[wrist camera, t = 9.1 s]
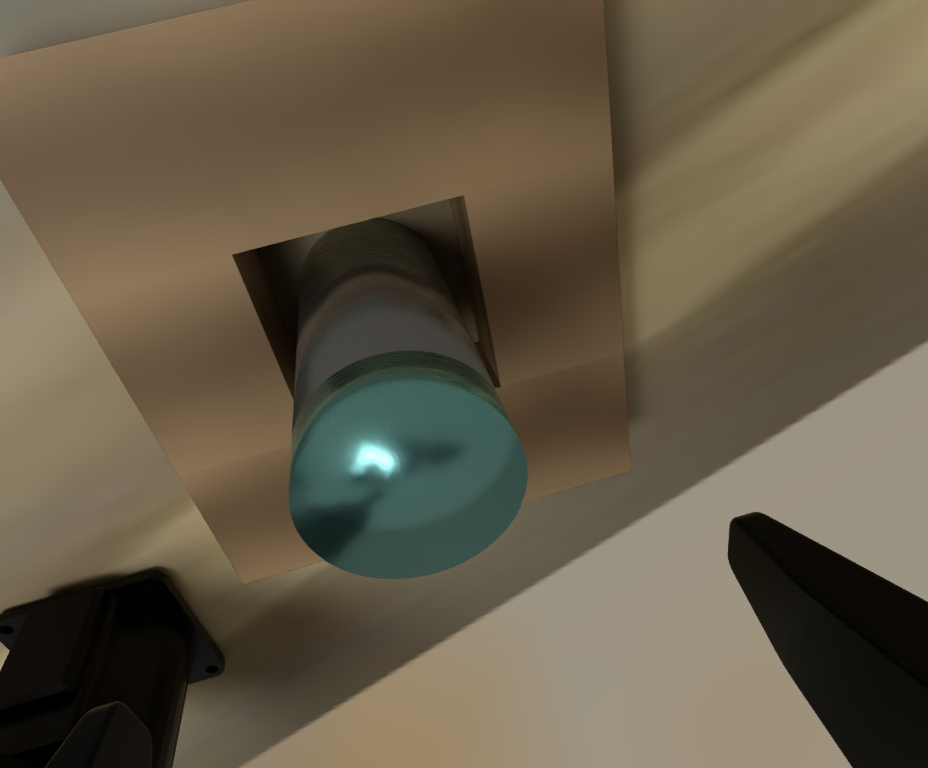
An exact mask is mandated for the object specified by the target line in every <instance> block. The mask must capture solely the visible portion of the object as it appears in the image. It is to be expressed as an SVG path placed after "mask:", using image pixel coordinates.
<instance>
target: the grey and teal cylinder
mask: <svg viewBox="0 0 928 768" xmlns="http://www.w3.org/2000/svg"><path fill="white" fill-rule="evenodd" d="M527 479H528V468H527V460H526V456H525V453H524V450H523V447H522V445H521V443H520V441H519V439H518V437H517V434H516V432H515V430H514V428H513V426H512V424H511V422H510V419H509V417H508V415H507V413H506V411H505V409H504V407H503V404H502V402H501V400H500V398H499V396H498V394H497V392H496V389H495V387H494V385H493V383H492V381H491V379H490V376H489V374H488V372H487V370H486V368H485V366H484V364H483V361H482V359H481V357H480V355H479V353H478V351H477V349H476V346H475V344H474V342H473V340H472V338H471V336H470V334H469V331H468V329H467V327H466V325H465V323H464V321H463V318H462V316H461V314H460V312H459V310H458V308H457V306H456V303H455V301H454V299H453V297H452V295H451V293H450V291H449V288H448V286H447V284H446V282H445V280H444V278H443V276H442V273H441V271H440V269H439V267H438V265H437V263H436V260H435V258H434V256H433V254H432V252H431V251H430V249H429V248H428V246H427V245H426V244H425V243H424V241H423V240H422V239H421V238H420V237H419V236H417V235H416V234H415V233H414V232H412V231H411V230H409V229H408V228H406V227H404V226H402V225H400V224H398V223H395V222H392V221H388V220H383V219H374V218H373V219H369V220H365V221H361V222H357V223H353V224H349V225H346V226H342V227H338V228H334V229H331V230H330V231H328V232H327V233H326V234H324V235H323V236H322V237H321V238H320V239H319V240H318V241H317V242H316V243H315V244H314V246H313V247H312V249H311V250H310V252H309V253H308V255H307V257H306V259H305V262H304V265H303V268H302V273H301V280H300V298H299V316H298V334H297V352H296V369H295V387H294V405H293V423H292V441H291V458H290V476H289V509H290V514H291V518H292V521H293V523H294V526H295V528H296V530H297V532H298V533H299V535H300V537H301V538H302V540H303V541H304V542H305V543H306V544H307V545H308V547H309V548H310V549H311V550H312V551H314V552H315V553H316V554H317V555H318V556H319V557H321V558H322V559H324V560H325V561H327V562H329V563H330V564H332V565H334V566H336V567H338V568H340V569H343V570H346V571H348V572H351V573H354V574H358V575H363V576H367V577H374V578H385V579H400V578H412V577H419V576H425V575H429V574H433V573H437V572H440V571H443V570H446V569H449V568H452V567H454V566H456V565H458V564H460V563H463V562H465V561H466V560H468V559H470V558H472V557H474V556H475V555H477V554H478V553H480V552H481V551H483V550H484V549H485V548H487V547H488V546H489V545H490V544H492V543H493V542H494V541H495V540H496V539H497V538H498V537H499V536H500V535H501V534H502V533H503V532H504V531H505V530H506V529H507V527H508V526H509V525H510V523H511V522H512V521H513V519H514V518H515V516H516V514H517V512H518V510H519V509H520V506H521V504H522V501H523V499H524V496H525V492H526V487H527Z"/></svg>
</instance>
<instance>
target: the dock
mask: <svg viewBox="0 0 928 768" xmlns="http://www.w3.org/2000/svg"><path fill="white" fill-rule="evenodd" d="M0 180H1V181H2V183H3V185H4V186H5V188H6V190H7V191H8V193H9V195H10V196H11V198H12V200H13V201H14V203H15V205H16V206H17V208H18V210H19V211H20V213H21V215H22V216H23V218H24V220H25V221H26V223H27V225H28V226H29V228H30V230H31V231H32V233H33V235H34V236H35V238H36V240H37V241H38V243H39V245H40V246H41V248H42V250H43V251H44V253H45V255H46V256H47V258H48V260H49V261H50V263H51V264H52V266H53V268H54V269H55V271H56V273H57V274H58V276H59V278H60V279H61V281H62V283H63V284H64V286H65V288H66V289H67V291H68V293H69V294H70V296H71V298H72V299H73V301H74V303H75V304H76V306H77V308H78V309H79V311H80V313H81V314H82V316H83V318H84V319H85V321H86V323H87V324H88V326H89V328H90V329H91V331H92V333H93V334H94V336H95V338H96V339H97V341H98V343H99V344H100V346H101V348H102V349H103V351H104V353H105V354H106V356H107V358H108V359H109V361H110V363H111V364H112V366H113V368H114V369H115V371H116V373H117V374H118V376H119V378H120V379H121V381H122V383H123V384H124V386H125V388H126V389H127V391H128V393H129V394H130V396H131V398H132V399H133V401H134V403H135V404H136V406H137V408H138V409H139V411H140V413H141V414H142V416H143V418H144V419H145V421H146V423H147V424H148V426H149V428H150V429H151V431H152V433H153V434H154V436H155V438H156V439H157V441H158V443H159V444H160V446H161V448H162V449H163V451H164V453H165V454H166V456H167V458H168V459H169V461H170V463H171V464H172V466H173V468H174V469H175V471H176V473H177V474H178V476H179V478H180V479H181V481H182V483H183V484H184V486H185V488H186V489H187V491H188V493H189V494H190V496H191V498H192V499H193V501H194V503H195V504H196V506H197V508H198V509H199V511H200V513H201V514H202V516H203V518H204V519H205V521H206V523H207V524H208V526H209V528H210V529H211V531H212V533H213V534H214V536H215V538H216V539H217V541H218V543H219V544H220V546H221V548H222V549H223V551H224V553H225V554H226V556H227V558H228V559H229V561H230V563H231V564H232V566H233V568H234V569H235V571H236V573H237V574H238V576H239V578H240V579H241V581H242V583H243V584H245V583H249V582H252V581H256V580H259V579H263V578H266V577H269V576H273V575H276V574H280V573H283V572H287V571H290V570H293V569H297V568H300V567H304V566H307V565H311V564H314V563H317V562H321V561H324V559H322V558H321V557H319V556H318V555H317V554H316V553H315V552H314V551H312V550H311V549H310V548H309V547H308V545H307V544H306V543H305V542H304V541H303V540H302V538H301V537H300V535H299V533H298V532H297V530H296V528H295V526H294V523H293V521H292V518H291V514H290V509H289V476H290V458H291V441H292V423H293V405H294V387H295V369H296V352H297V351H296V349H295V346H294V344H293V341H292V339H291V336H290V334H289V331H288V329H287V326H286V324H285V321H284V319H283V316H282V314H281V311H280V309H279V306H278V304H277V301H276V299H275V296H274V294H273V291H272V289H271V286H270V284H269V281H268V279H267V276H266V274H265V271H264V269H263V266H262V264H261V261H260V259H259V256H258V254H257V251H256V248H260V247H264V246H268V245H271V244H275V243H279V242H283V241H287V240H291V239H295V238H299V237H303V236H307V235H310V234H314V233H318V232H322V231H326V230H330V229H334V228H338V227H342V226H346V225H349V224H353V223H357V222H361V221H365V220H369V219H373V218H377V217H381V216H385V215H388V214H392V213H396V212H400V211H404V210H408V209H412V208H416V207H420V206H424V205H427V204H431V203H435V202H439V201H443V200H447V199H450V201H451V205H452V210H453V215H454V220H455V225H456V230H457V235H458V239H459V244H460V249H461V254H462V259H463V264H464V269H465V273H466V278H467V283H468V288H469V293H470V298H471V303H472V307H473V312H474V317H475V322H476V327H477V332H478V337H479V341H480V342H479V343H475V346H476V349H477V351H478V353H479V355H480V357H481V359H482V361H483V364H484V366H485V368H486V370H487V372H488V374H489V376H490V379H491V381H492V383H493V385H494V387H495V389H496V392H497V394H498V396H499V398H500V400H501V402H502V404H503V407H504V409H505V411H506V413H507V415H508V417H509V419H510V422H511V424H512V426H513V428H514V430H515V432H516V434H517V437H518V439H519V441H520V443H521V445H522V447H523V450H524V453H525V456H526V460H527V468H528V479H527V487H526V492H525V496H524V499H523V501H522V503H523V502H527V501H530V500H534V499H537V498H540V497H544V496H547V495H551V494H554V493H558V492H561V491H564V490H568V489H571V488H575V487H578V486H582V485H585V484H588V483H592V482H595V481H599V480H602V479H606V478H609V477H612V476H616V475H619V474H623V473H626V472H630V471H631V468H630V450H629V433H628V415H627V398H626V380H625V363H624V346H623V328H622V311H621V293H620V276H619V258H618V241H617V223H616V206H615V189H614V171H613V154H612V136H611V119H610V101H609V84H608V67H607V49H606V32H605V14H604V0H251V1H246V2H242V3H238V4H233V5H229V6H225V7H220V8H216V9H211V10H207V11H203V12H198V13H194V14H190V15H185V16H181V17H177V18H172V19H168V20H164V21H159V22H155V23H151V24H146V25H142V26H138V27H133V28H129V29H125V30H120V31H116V32H111V33H107V34H103V35H98V36H94V37H90V38H85V39H81V40H77V41H72V42H68V43H64V44H59V45H55V46H51V47H46V48H42V49H38V50H33V51H29V52H25V53H20V54H16V55H11V56H7V57H3V58H0Z"/></svg>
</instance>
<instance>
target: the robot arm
mask: <svg viewBox="0 0 928 768" xmlns="http://www.w3.org/2000/svg"><path fill="white" fill-rule="evenodd" d="M728 560H729V564H730V566H731V569H732V571H733V573H734V575H735V577H736V579H737V580H738V582H739V584H740V586H741V588H742V589H743V591H744V593H745V595H746V597H747V599H748V600H749V603H750V604H751V606H752V608H753V610H754V612H755V614H756V616H757V617H758V619H759V621H760V623H761V625H762V627H763V628H764V630H765V632H766V634H767V636H768V638H769V640H770V641H771V643H772V645H773V647H774V649H775V651H776V653H777V654H778V656H779V658H780V660H781V661H782V663H783V665H784V666H785V668H786V670H787V671H788V673H789V674H790V676H791V677H792V679H793V680H794V682H795V683H796V685H797V686H798V688H799V689H800V691H801V692H802V694H803V695H804V697H805V698H806V700H807V701H808V702H809V704H810V706H811V707H812V709H813V710H814V711H815V713H816V714H817V716H818V717H819V719H820V720H821V722H822V723H823V725H824V726H825V728H826V729H827V731H828V732H829V734H830V735H831V737H832V738H833V739H834V741H835V742H836V744H837V745H838V747H839V748H840V750H841V751H842V753H843V754H844V756H845V757H846V758H847V760H848V762H849V763H850V764H851V766H852V767H853V768H928V602H927V601H925V600H923V599H922V598H920V597H918V596H916V595H914V594H912V593H910V592H909V591H906V590H905V589H903V588H901V587H899V586H897V585H895V584H894V583H892V582H890V581H888V580H886V579H884V578H882V577H880V576H879V575H877V574H875V573H873V572H871V571H869V570H868V569H866V568H864V567H862V566H860V565H858V564H856V563H855V562H853V561H851V560H849V559H847V558H845V557H843V556H842V555H840V554H838V553H836V552H834V551H832V550H830V549H828V548H827V547H825V546H823V545H821V544H819V543H817V542H815V541H813V540H812V539H810V538H808V537H806V536H804V535H802V534H801V533H799V532H797V531H795V530H793V529H791V528H789V527H787V526H786V525H784V524H782V523H780V522H778V521H776V520H774V519H773V518H770V517H769V516H767V515H765V514H763V513H759V512H752V513H749V514H746V515H742V516H739V517H735V518H734V519H733V520H732V521H731V523H730V528H729V543H728ZM150 583H155V584H150ZM0 641H1V642H2V643H3V644H4V645H5V646H6V647H7V648H8V649H9V650H10V652H9V654H8V656H7V658H6V660H5V662H4V664H3V666H2V669H1V671H0V768H172V766H173V761H174V756H175V750H176V745H177V740H178V735H179V729H180V724H181V719H182V714H183V708H184V703H185V698H186V693H187V687H188V684H192V683H195V682H198V681H201V680H205V679H208V678H211V677H215V676H218V675H220V674H221V673H222V672H223V671H224V667H225V658H224V656H223V655H222V653H221V652H220V651H219V649H218V648H217V646H216V645H215V643H214V642H213V640H212V639H211V638H210V636H209V635H208V633H207V632H206V630H205V629H204V628H203V626H202V625H201V623H200V622H199V620H198V619H197V618H196V616H195V615H194V613H193V612H192V610H191V609H190V608H189V606H188V605H187V603H186V602H185V600H184V599H183V597H182V596H181V595H180V593H179V592H178V590H177V589H176V587H175V586H174V585H173V583H172V582H171V580H170V579H169V577H168V576H167V575H166V574H165V573H163V572H161V571H155V570H153V571H148V572H144V573H141V574H137V575H134V576H130V577H127V578H123V579H120V580H116V581H113V582H109V583H106V584H102V585H99V586H95V587H92V588H88V589H85V590H81V591H78V592H74V593H71V594H68V595H64V596H61V597H57V598H54V599H50V600H47V601H43V602H40V603H36V604H33V605H29V606H26V607H22V608H19V609H15V610H12V611H8V612H5V613H2V614H0Z"/></svg>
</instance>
